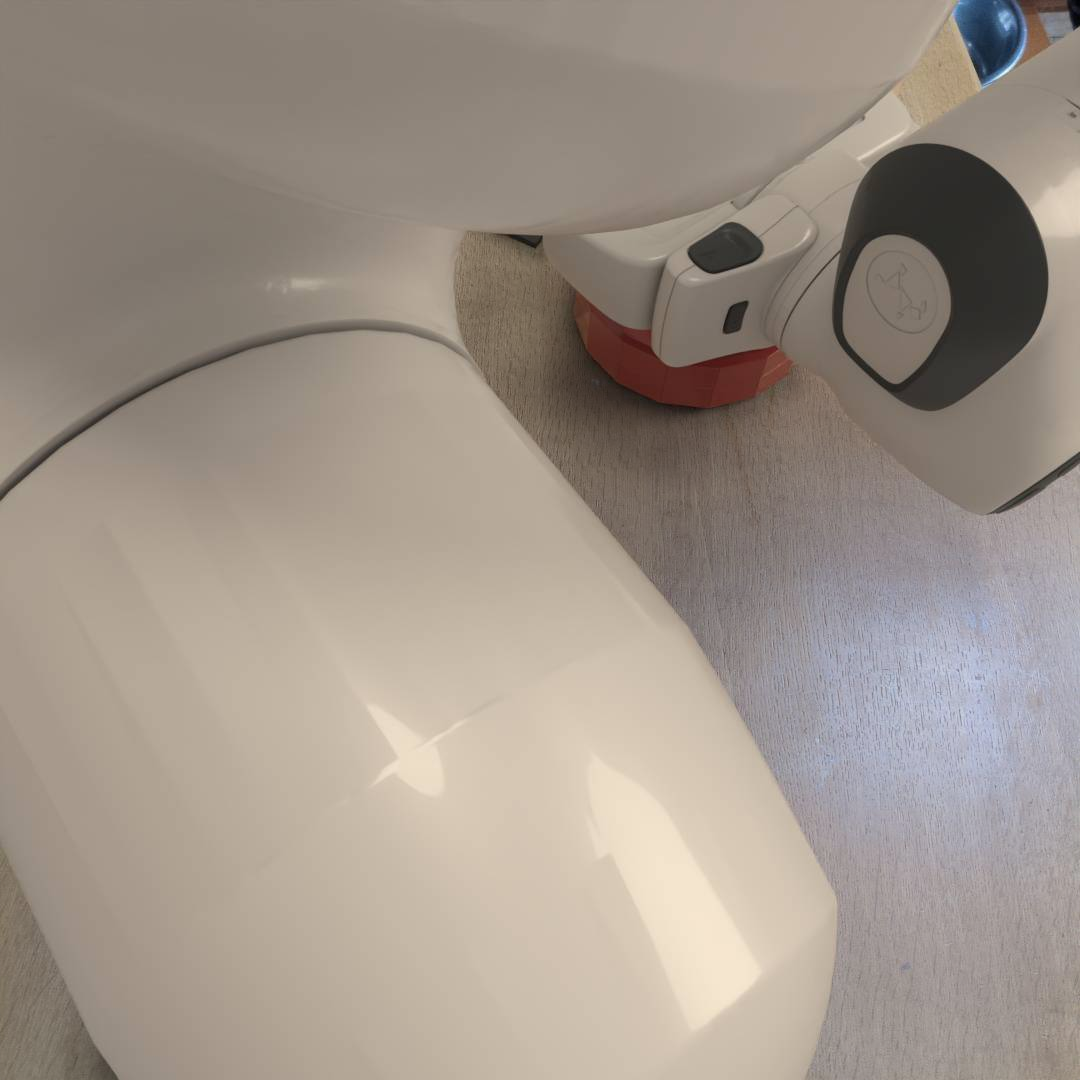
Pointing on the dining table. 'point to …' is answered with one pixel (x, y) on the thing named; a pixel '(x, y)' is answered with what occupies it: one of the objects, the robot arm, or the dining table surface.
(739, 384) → the red bowl
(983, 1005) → the dining table surface
